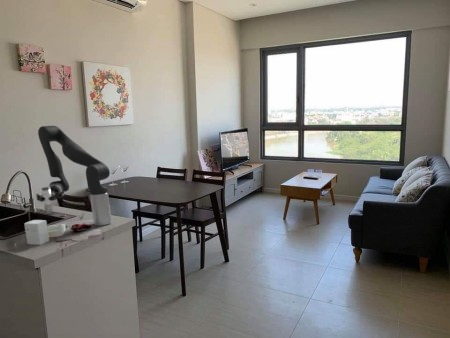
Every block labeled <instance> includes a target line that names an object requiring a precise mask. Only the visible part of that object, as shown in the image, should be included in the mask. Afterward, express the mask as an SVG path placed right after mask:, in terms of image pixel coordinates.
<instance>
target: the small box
mask: <svg viewBox="0 0 450 338" xmlns="http://www.w3.org/2000/svg"><path fill="white" fill-rule="evenodd" d="M23 224H24V231H25V236H26V243H27V245H35V246H36V245H38V246H41V245H43V244H45V243H48V242H50V238H49V235H48V228H47V226H48V222H47V220H45V219H44V220H43V219H32V220H29V221H27V222H25V223H23Z"/></svg>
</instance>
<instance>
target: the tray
mask: <svg viewBox="0 0 450 338" xmlns="http://www.w3.org/2000/svg"><path fill="white" fill-rule="evenodd" d="M47 228H48V235H49V239H50V238H57V237H62V236H63V235H64V233H65V232H66V223H61V224H53V225H47Z"/></svg>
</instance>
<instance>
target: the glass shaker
mask: <svg viewBox="0 0 450 338" xmlns="http://www.w3.org/2000/svg"><path fill="white" fill-rule="evenodd" d="M41 193H42V194H43V202H42V203H43V208H44V212H47V213H49V212H53V211H54V204H53V202H54V201H51V199H50V196H52V194H51V187H49V186H44V187H41ZM42 194H41V195H42Z"/></svg>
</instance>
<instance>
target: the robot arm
mask: <svg viewBox="0 0 450 338" xmlns="http://www.w3.org/2000/svg"><path fill="white" fill-rule="evenodd" d="M37 135H38V139H39V142H40V145H41V148H42V149H43V150H42V151H43V152H44V155H45V157H46V161H47V166H48V170H49V171H48V172H49V175H50V177H51V178H59V180H55V181H51V182H50V183H49V186H48V187H51V194H52V196H50V199H51V201H52V202H54V201H56V200H58V199H61V198H63V197H65V192H68V191H69V189H70V184H69V182H68V180H67V177H66V176H65V174H64V170H63V165H62V162H61V159H60V157H59V156H58V155H57V154H56V153H55V151H54V150H53V148H52V145H51V142H56V143H58V144H59V145H60V146H61V151H62V154H63V156H65V157H66V158H67V159H68V160H70V162H73V163H74V164H77V165H79V166H83V167H86V169H85V177H86V181H87V183H86V184H87V188H88V191H89V195H90V196H89V197H90V205H91V213H92V222H93V225H94V226H96V225H97V226H101V227H102V226H106V225H110V224H112V215H111V213H112V212H111V206H110V205H111V204H110V199H109V190H108V187H107V186H105V185H102V184H101V181H103V180H106V179H108V178H109V177H110V175H111V174H110V173H111V171H110V169H109V166H108V165H106V164H105V163H104V162H103V161H100V160H99V159H97V158H95V157H94V156H93V155H92V154H90V153H89V152H87V150H85V149H84V147H83V148H82V146H80V145H79V144H77V143H76V142H75V141H74V140H72V139H71V138H70V137H69V136H68V135H67V134H66V133H65V132H64V131H63V130H62V129H61V128H60V127H58V126H56V125H42V126H40V127H39V128H38V130H37ZM35 196H36V200H37V201H39V202H41V203H44V202H43V194H40V193H36V195H35ZM97 226H96V227H97Z"/></svg>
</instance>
